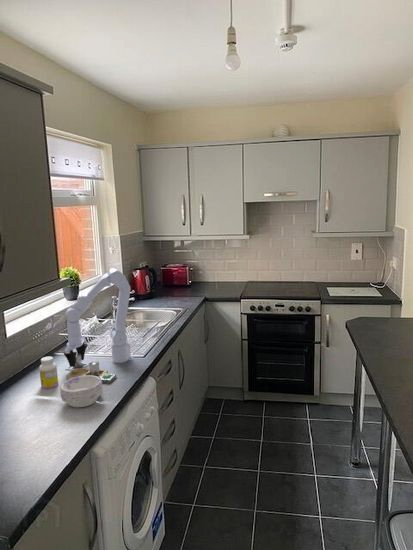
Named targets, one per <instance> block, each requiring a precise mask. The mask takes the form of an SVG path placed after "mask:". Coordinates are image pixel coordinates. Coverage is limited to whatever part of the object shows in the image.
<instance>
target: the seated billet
mask: <svg viewBox="0 0 413 550" xmlns="http://www.w3.org/2000/svg"><path fill="white" fill-rule="evenodd" d="M88 366H89V368H88V369H90V375H92V376H97V377H98V376H99V375H100V370H101V369H100V362H99V361H91V362H89V365H88Z"/></svg>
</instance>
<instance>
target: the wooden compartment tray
mask: <svg viewBox="0 0 413 550" xmlns="http://www.w3.org/2000/svg"><path fill="white" fill-rule="evenodd" d="M99 370H100V375H99V376H98V377H99V378H100V377H101V376H102V375H103V374H104V373H106V374H109V372H108V369H99ZM85 375H90V368H83V367H81V368H76V369H75V370H71V371H70V372H69V373H68V374H67V375H66V379H67V380H69V379H71V378H74V377H78V376H85Z"/></svg>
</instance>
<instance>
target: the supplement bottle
mask: <svg viewBox="0 0 413 550" xmlns="http://www.w3.org/2000/svg"><path fill="white" fill-rule="evenodd" d="M40 363H41V364H40V365H39V379H40V387H41V389H43V390H51V389H55V388H57V387H58V386H59V378H58V367H57V364H56V362H55V361H54V357H53V356H44V357H42V358H40Z"/></svg>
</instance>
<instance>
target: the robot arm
mask: <svg viewBox="0 0 413 550" xmlns="http://www.w3.org/2000/svg"><path fill="white" fill-rule="evenodd" d="M112 285H114V286H116V287H117V289H118V290H119V291H118V299H117V306H116V311H115V312H116V314H115V321H114V323H113V325H112V326H113V327H112V329H111V331H110V334H109V335H110V338H111V339H112V341H111V343H110V346H111V348H110V349H111V358H112V363H114V364H120V363H121V364H122V363H125V362H127V361H131V360H133V356H132V353H131V345H130V343H129V341H128V340H127V339H128V337H127V334H126V333H127V327H126V324H127V317H128V310H129V302H130V294H131V290H132V289H131V286H130V283H129V282H128V280H127V277H126V276H125V274H124V273H123V272H122V271H120V270H119V269H118V268H116V267H113V268H109V270H108V271H107V272H105V273H104V274H103V275H102V276H101V277H100V278H99V279H98V281H97V282H96V283H95V284H94V285H93V286H92V288H90V290H89V291H88V293H86V294H82V295H81V296H78V297H77V300H76V301H75V302H74V303H73V304H71V305H70V307H69V308H67V310H66V311H65V315H64V316H65V319H66V324H67V325H66V330H67V332H66V333H67V339H68V342H67V343H66V348H64V351H63V355H64V357H65V358H66V360H67V362H68V364H69V366H70V368H71V367H72V368H73V367H74V366H75V358H76V354H81V360H82V361H85V354H86V350H87V347H88V343H87V342H86V338H82V330H81V323H80V320H81V315H83V314H84V313H85V312H86V311H87V310H88V309H89V308H90V307H91V305H92V304H93V299H94V298H95V297H96V296H97V295H98V294H99V293H100V292H101V291H102V290H103V289H105V288H107V287H111V286H112ZM74 350H76V351H74Z"/></svg>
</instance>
